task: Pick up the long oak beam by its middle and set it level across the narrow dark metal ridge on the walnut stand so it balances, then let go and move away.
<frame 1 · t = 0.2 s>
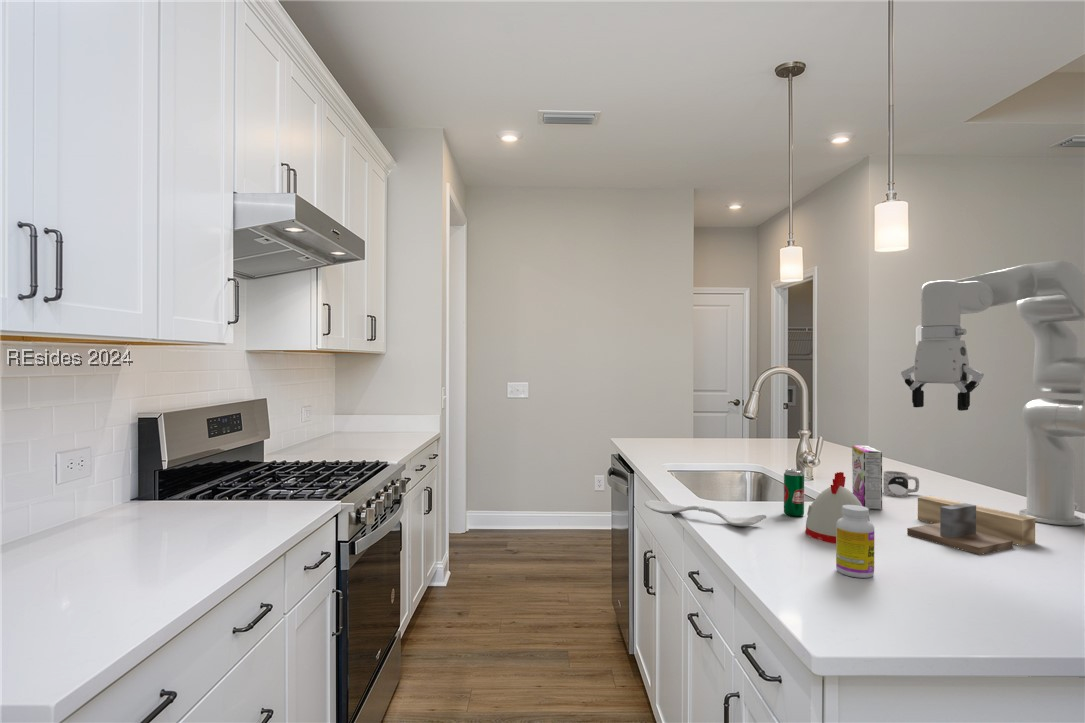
hand: (939, 408, 137), 30 cm above the countertop, tool pointing down, fingers open, 9 cm apart
kitchen timer: (837, 536, 141), on the countertop
spoon: (699, 520, 156), on the countertop
oak beam: (972, 531, 145), on the countertop
candy bar box: (866, 505, 170), on the countertop
supplement bottle: (854, 574, 116), on the countertop
mug: (901, 495, 184), on the countertop
soda can: (793, 515, 159), on the countertop
walnut stand: (958, 540, 137), on the countertop
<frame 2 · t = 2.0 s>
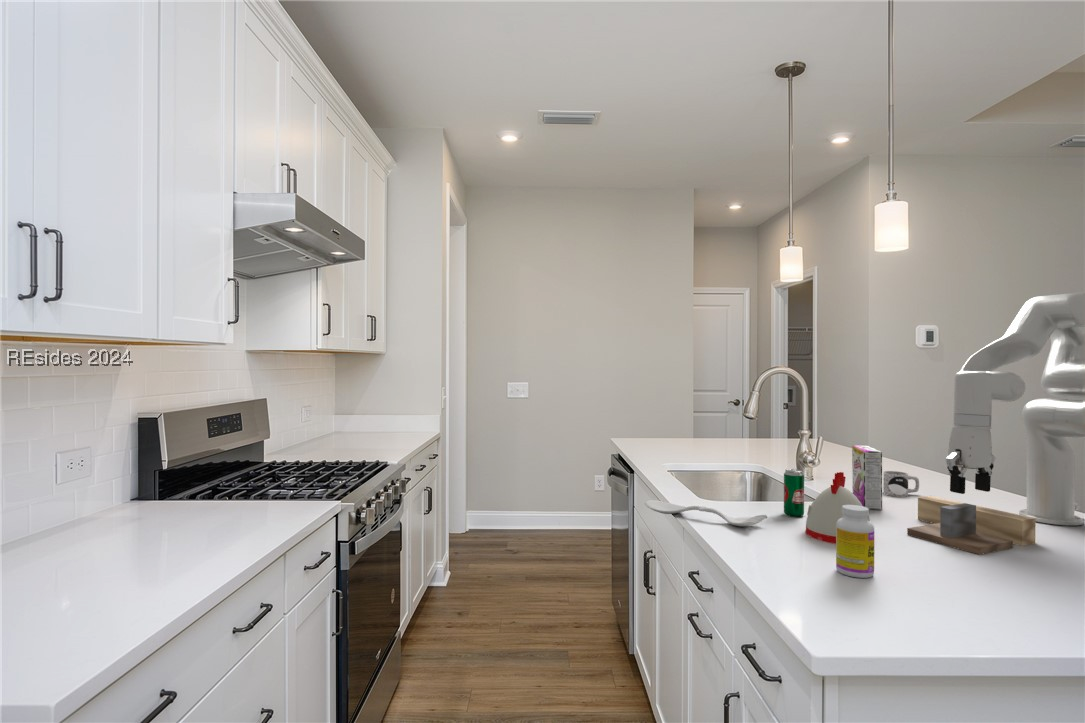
hand: (970, 491, 145), 10 cm above the countertop, tool pointing down, fingers open, 9 cm apart
nothing on the countertop moved.
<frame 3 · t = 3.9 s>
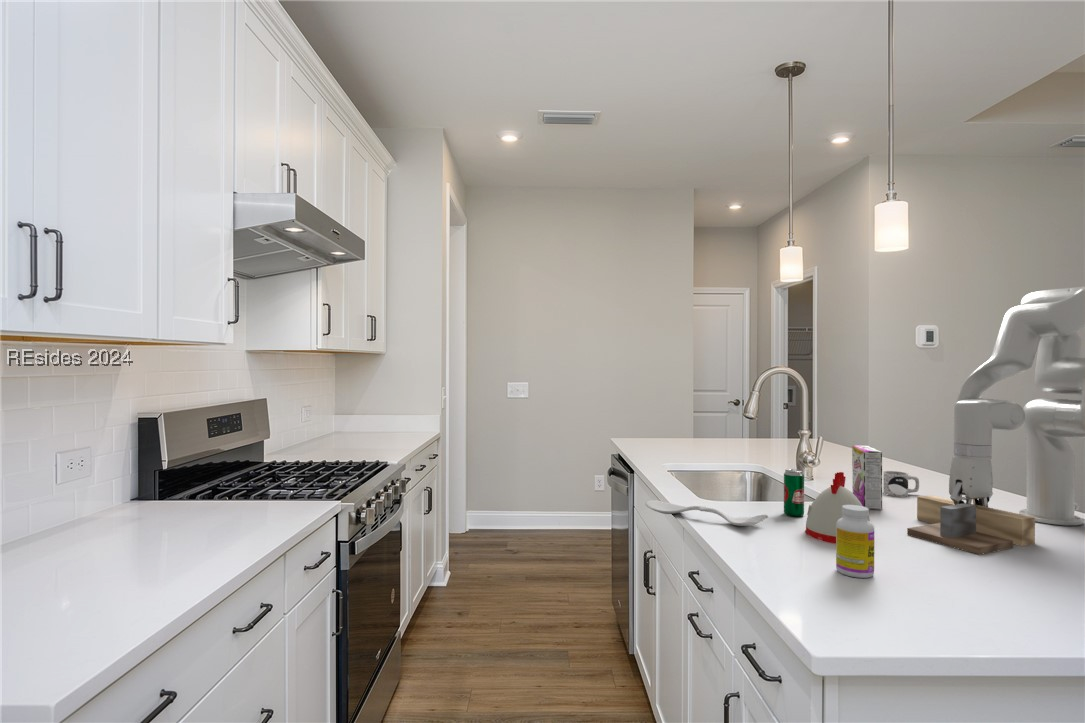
hand: (971, 524, 145), 1 cm above the countertop, tool pointing down, fingers closed on oak beam, 5 cm apart
oak beam: (971, 530, 145), on the countertop, touching gripper
everything else where it was.
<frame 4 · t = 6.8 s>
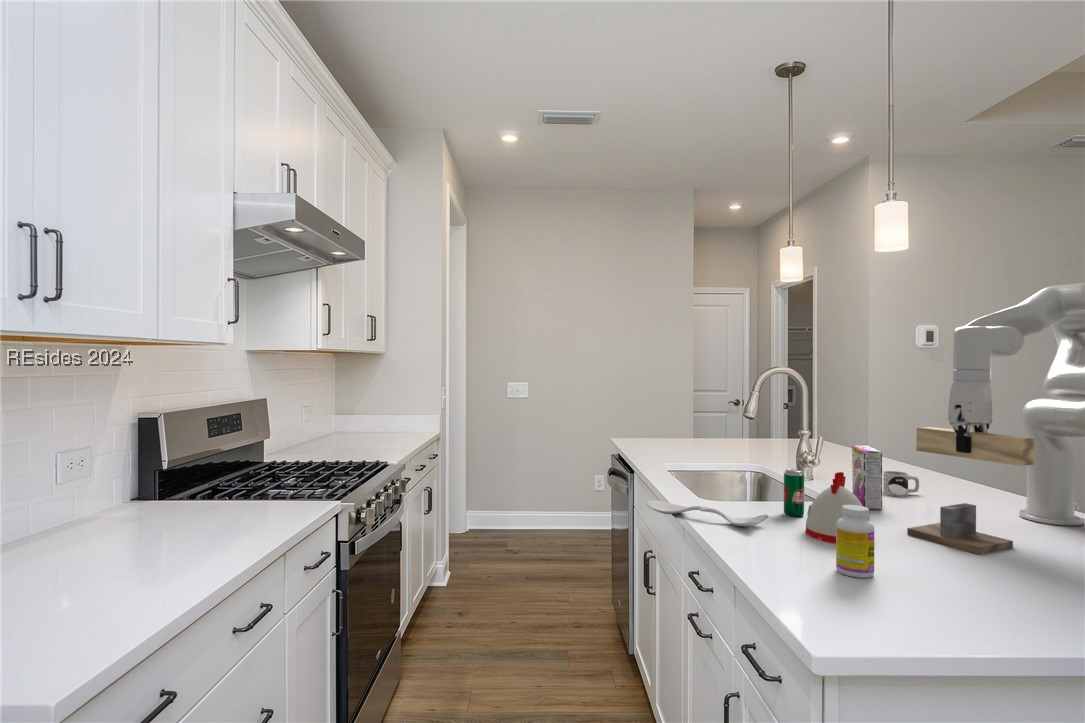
hand: (971, 451, 144), 20 cm above the countertop, tool pointing down, fingers closed on oak beam, 5 cm apart
oak beam: (971, 457, 144), point 18 cm above the countertop, touching gripper
everything else where it was.
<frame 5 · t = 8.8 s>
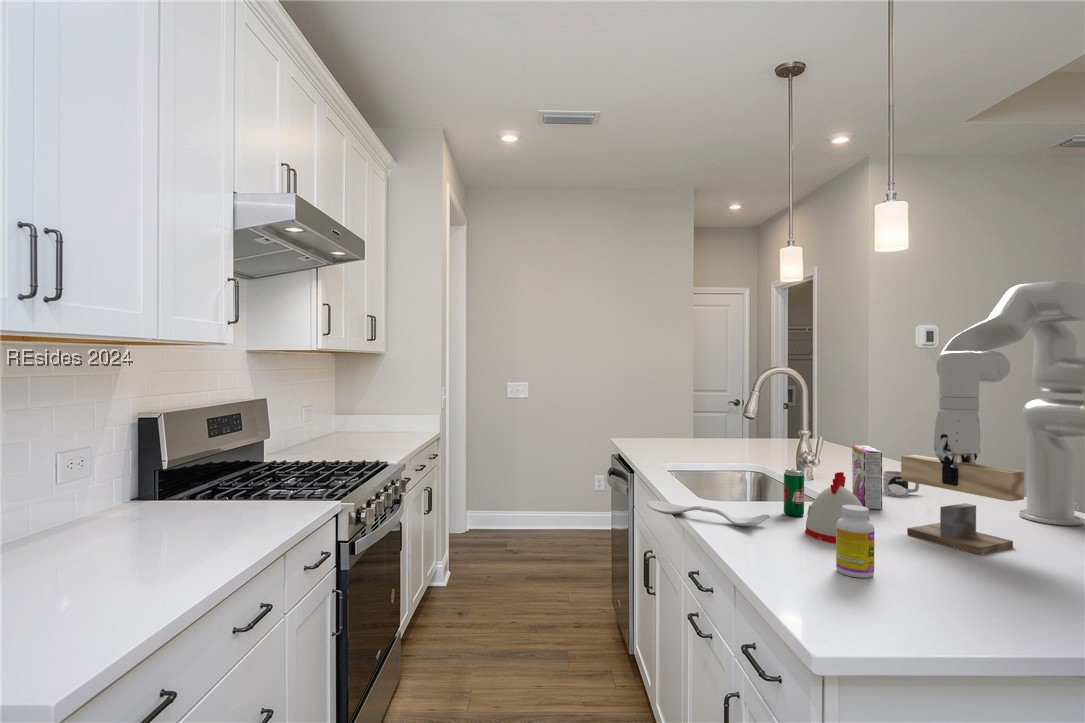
hand: (957, 482, 137), 13 cm above the countertop, tool pointing down, fingers closed on oak beam, 5 cm apart
oak beam: (958, 489, 137), point 12 cm above the countertop, touching gripper
everything else where it was.
when the fingers open (10 cm above the countertop, at t = 10.2 s): oak beam stays where it is, resting on walnut stand.
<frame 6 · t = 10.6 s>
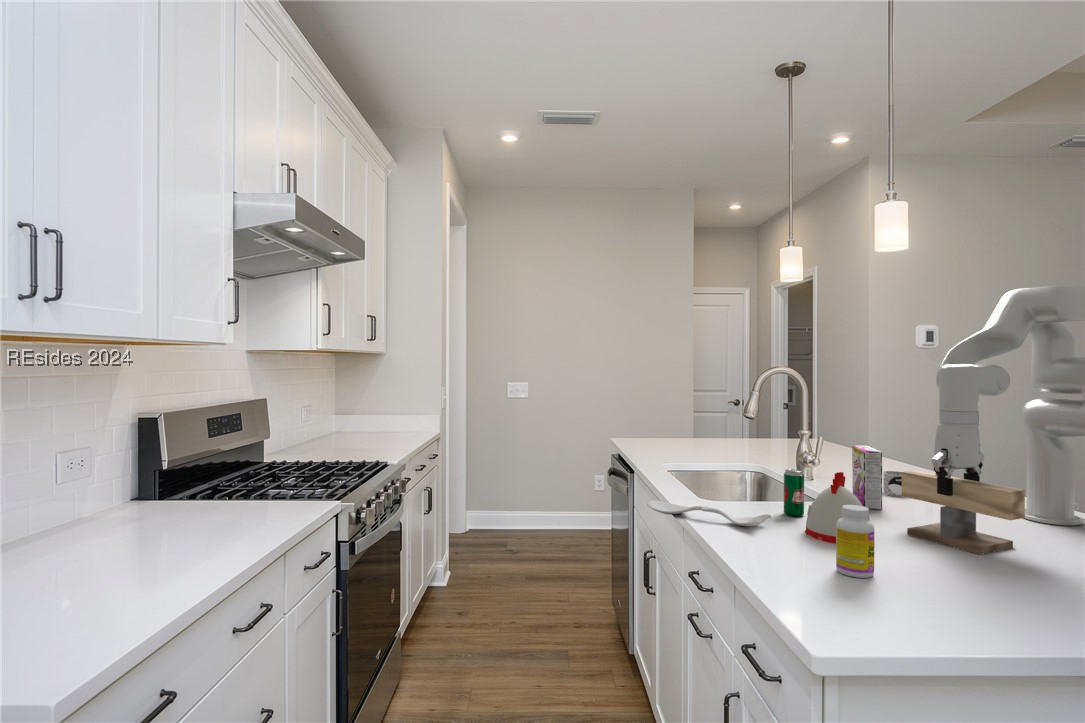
hand: (958, 492, 137), 11 cm above the countertop, tool pointing down, fingers open, 9 cm apart
oak beam: (958, 506, 137), point 8 cm above the countertop, touching walnut stand
everything else where it was.
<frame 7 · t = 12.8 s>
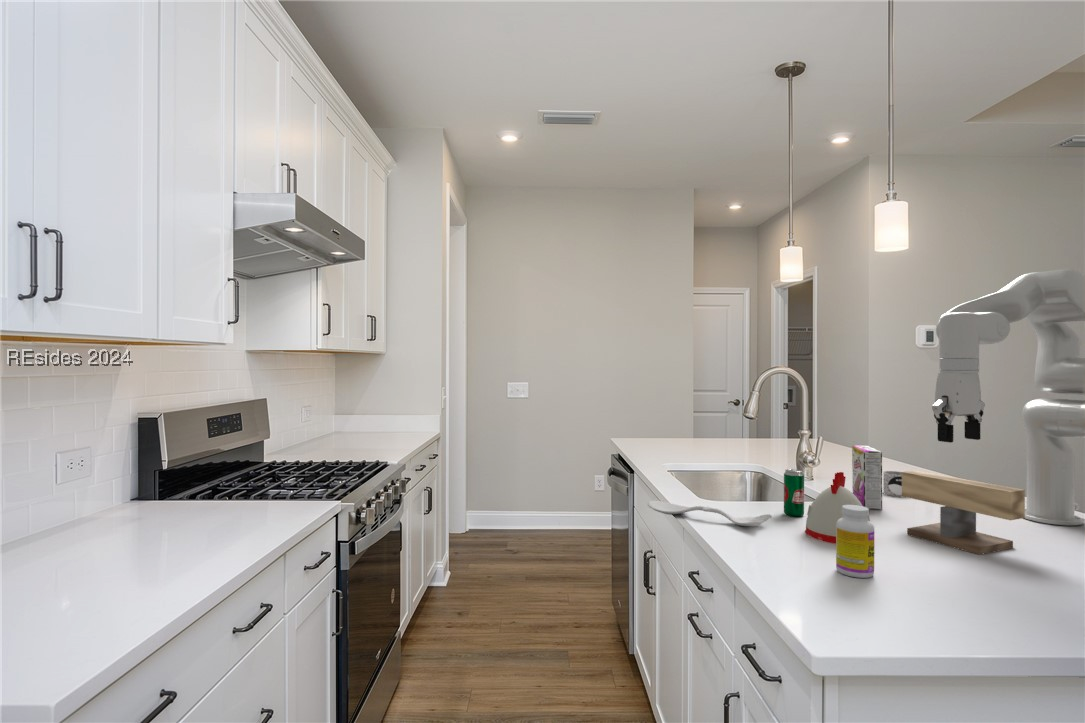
hand: (959, 440, 137), 23 cm above the countertop, tool pointing down, fingers open, 9 cm apart
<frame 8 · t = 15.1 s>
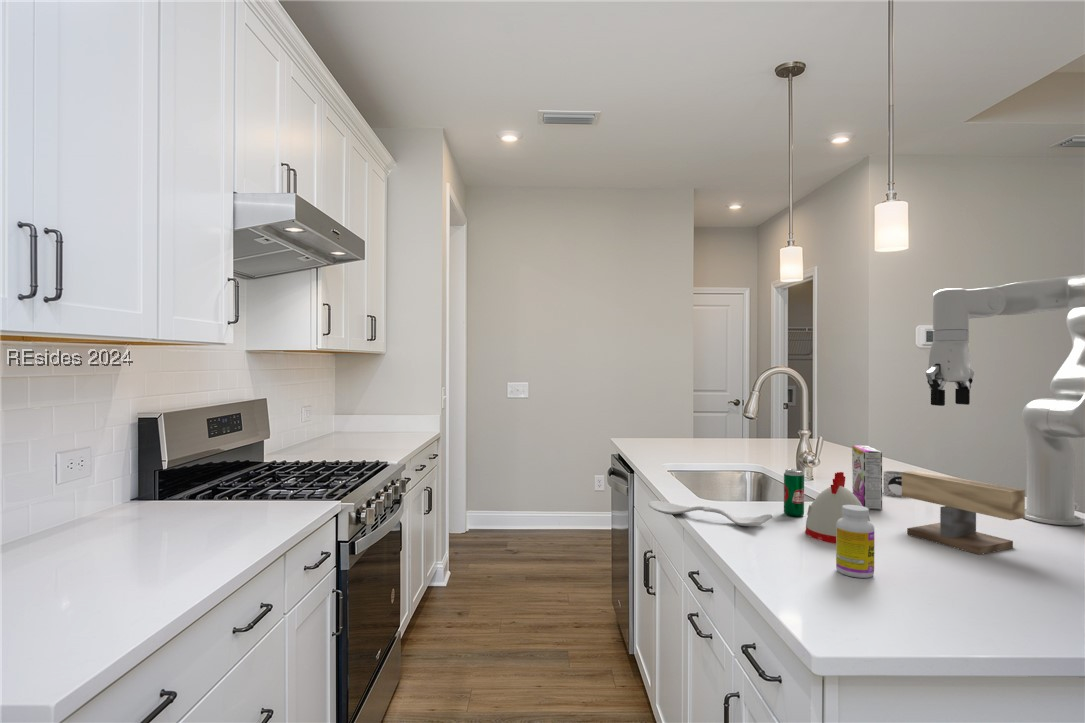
hand: (950, 404, 151), 30 cm above the countertop, tool pointing down, fingers open, 9 cm apart
at the end: oak beam inside the target area on the walnut stand (0.0 cm from its centre), point 8.0 cm above the walnut stand's base; oak beam tilted 0°; the gripper is holding nothing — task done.
